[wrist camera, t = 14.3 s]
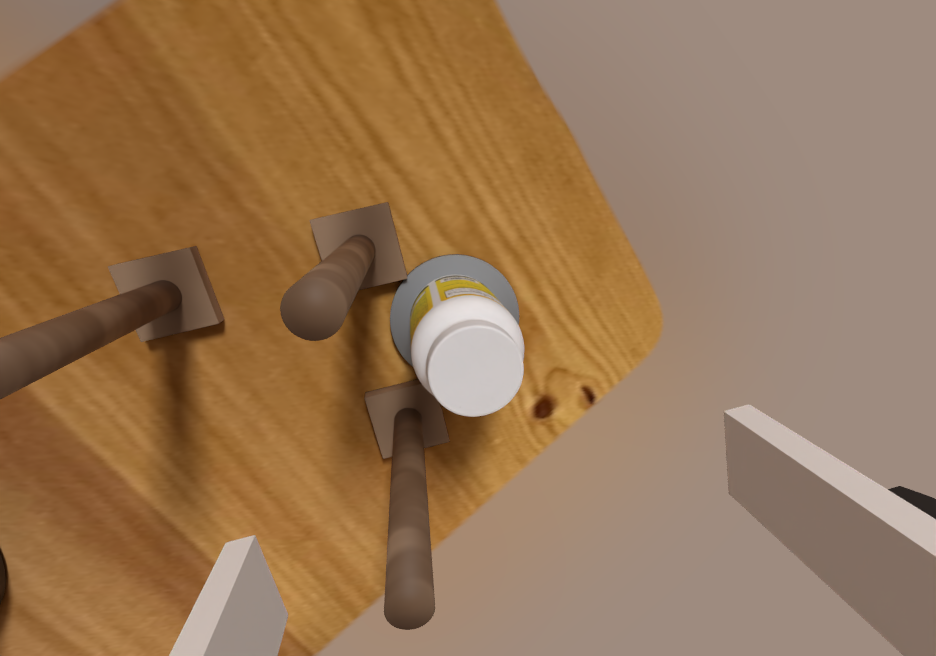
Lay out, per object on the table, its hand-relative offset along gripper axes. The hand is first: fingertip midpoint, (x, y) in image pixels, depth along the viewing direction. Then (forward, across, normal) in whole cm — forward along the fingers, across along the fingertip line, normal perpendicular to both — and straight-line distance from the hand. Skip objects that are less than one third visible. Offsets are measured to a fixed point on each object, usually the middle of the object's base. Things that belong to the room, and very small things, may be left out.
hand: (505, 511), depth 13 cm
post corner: (+22, -4, +6) cm, 23 cm away
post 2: (+22, -4, -7) cm, 23 cm away
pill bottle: (+21, +1, 0) cm, 21 cm away
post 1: (+22, -17, +6) cm, 28 cm away
